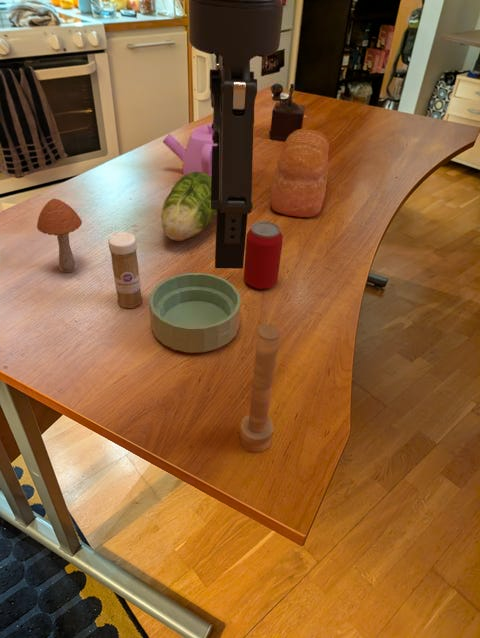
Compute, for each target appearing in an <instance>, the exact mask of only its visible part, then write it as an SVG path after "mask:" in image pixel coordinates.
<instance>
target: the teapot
mask: <svg viewBox="0 0 480 638" xmlns="http://www.w3.org/2000/svg"><path fill="white" fill-rule="evenodd" d="M212 123H213V122H209V123H207V124H201V125H199V126H197V127H195V128H194V129H193V130H192V131H191V133H190V135H189V138H188V141H187V143H186V146H185V147H184V146H183V145H182V144H181V143H180V142H179V141H178V140H177V139H176V138H175V137H174V136H173V135H172V134H171V133H168V135H167V136H166V137H165V138H164V139H163V140H162V143H163V144H164V145H165V146H166V147H167V148H168V149H169V150H170V151H171V152H172V153H173V154H174V155H175V156H177V158H179V159H180V160H181V161H182V173H183V176H185V175H187V174H189V173H193V172H202V173H206V174H208V175H210V176H211V173H212V146H217V144H213V140H212V135H213V129H212Z"/></svg>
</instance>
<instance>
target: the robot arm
mask: <svg viewBox="0 0 480 638" xmlns="http://www.w3.org/2000/svg"><path fill="white" fill-rule="evenodd" d="M284 8H285V7H284V4H283V3H282V0H188V39H189V43H190V45H191V46H192V47H193V48H194V49H195V50H197V51H199V52H202V53H205V54H209V55H214V56H215V67H214V69H213V68H210V69H209V91H210V104H211V105H210V106H211V108H212V109H213V111H212V122H211V123H212V129H213V135H212V140H213V144H217V146H212V173H211V210H217V213H216V221H215V222H216V224H215V248H214V249H215V250H214V252H215V253H214V269H229V270H230V269H231V270H232V269H240V270H241V269H243V270H244V264H245V252H246V239H247V225H248V215H251V213H252V210H253V203H252V195H253V194H252V193H253V191H252V190H253V162H254V161H253V160H254V159H253V158H254V157H253V156H254V127H255V103H256V98H257V95H258V78H255V72H254V71H251V60H252V59H254V58H256V57H260V58H264V57H269V56H271V55H274V54H275V53H276V52H278V50H279V49H280V44H281V36H282V35H281V34H282V25H283V17H284V16H283V15H284Z"/></svg>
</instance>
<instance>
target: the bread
mask: <svg viewBox="0 0 480 638" xmlns="http://www.w3.org/2000/svg"><path fill="white" fill-rule="evenodd" d="M329 151H330V143H329V140H328V139H327V136H326V135H325V134H324V133H323V132H321V131H319V130H316V129H308V128H302V129H299V130H296V131H294V132H293V133H291V134H290V135H289V136H288V138H287V139H286V141H284V143H283V144H282V148H281V152H280V156H279V159H278V161H277V167H276V169H275V171H274V174H273V178H272V182H271V185H270V192H269V193H270V199H269V200H270V201H269V202H270V207H271V209H272V210H273V211H274V212H276V213H277V214H278V213H279V214H281V215H284V216H285V215H286V216H291V217H292V216H293V217H296V218H297V217H298V218H310V217H311V218H312V217H314V216H316V215H317V214H319V213H320V212H321V210H322V207H323V204H324V199H325V196H326V193H327V192H326V191H327V183H328V182H327V181H328V174H329V168H330V162H329Z"/></svg>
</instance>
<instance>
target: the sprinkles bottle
mask: <svg viewBox="0 0 480 638" xmlns="http://www.w3.org/2000/svg"><path fill="white" fill-rule="evenodd" d="M107 242H108V243H107V245H108V250H109V253H110V256H111V266H112V272H113V278H114V279H113V280H114V285H115V290H116V295H117V296H116V297H117V298H116V299H117V300H116V301H117V305H119V307H121V308H123V309H134V308H137V307H138V306H140V305H141V304H142V301H143V297H142V291H141V290H142V289H141V278H140V277H141V276H140V269H139V261H138V255H137V254H138V253H137V248H138V243H137V238H136V236H135V235H134V234H132V233H130V232H124V231H123V232H122V231H121V232H116V233H113V234H112V235H110V236H108V240H107Z"/></svg>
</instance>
